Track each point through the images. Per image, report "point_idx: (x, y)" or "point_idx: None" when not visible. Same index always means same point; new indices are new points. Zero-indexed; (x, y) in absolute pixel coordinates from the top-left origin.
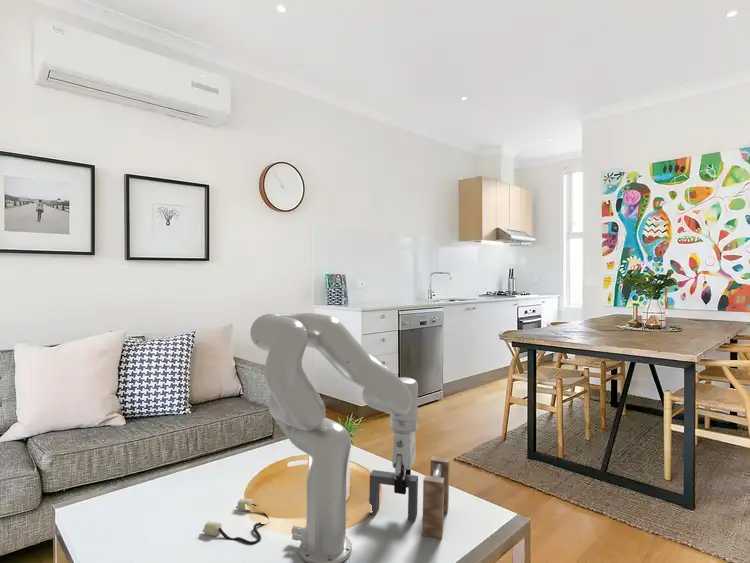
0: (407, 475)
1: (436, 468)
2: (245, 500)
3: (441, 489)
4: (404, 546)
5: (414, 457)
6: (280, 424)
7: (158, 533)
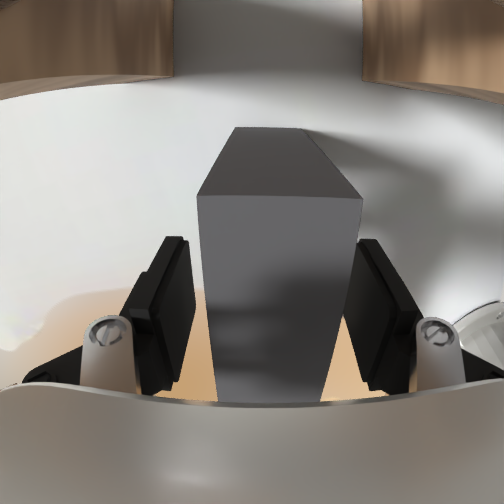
0: (231, 306)
1: None
2: None
3: None
4: (478, 159)
5: (90, 439)
6: None
7: None
